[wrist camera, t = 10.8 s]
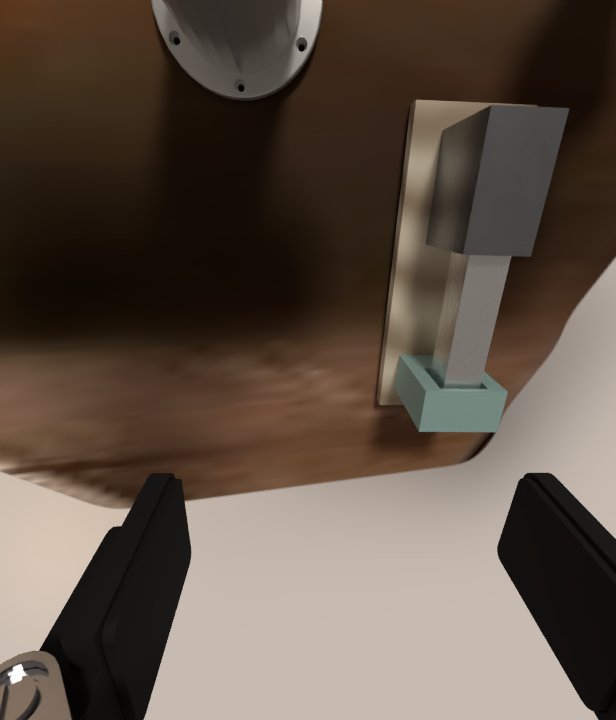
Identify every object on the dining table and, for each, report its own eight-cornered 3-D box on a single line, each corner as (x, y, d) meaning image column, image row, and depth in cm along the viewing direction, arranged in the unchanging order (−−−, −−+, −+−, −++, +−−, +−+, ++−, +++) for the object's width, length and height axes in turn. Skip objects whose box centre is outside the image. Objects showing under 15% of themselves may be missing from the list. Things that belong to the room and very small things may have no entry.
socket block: (399, 354, 37) (425, 391, 30) (465, 355, 38) (508, 391, 30) (395, 388, 39) (418, 431, 32) (458, 389, 39) (496, 432, 32)
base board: (410, 104, 30) (416, 99, 29) (526, 109, 31) (537, 105, 29) (376, 398, 41) (379, 404, 40) (462, 399, 41) (468, 405, 40)
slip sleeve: (442, 130, 30) (491, 104, 22) (501, 132, 30) (569, 108, 23) (425, 244, 33) (463, 254, 26) (478, 245, 33) (530, 256, 26)
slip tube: (460, 202, 28) (479, 202, 25) (500, 203, 28) (524, 203, 25) (428, 384, 34) (440, 401, 32) (461, 385, 35) (476, 401, 32)
